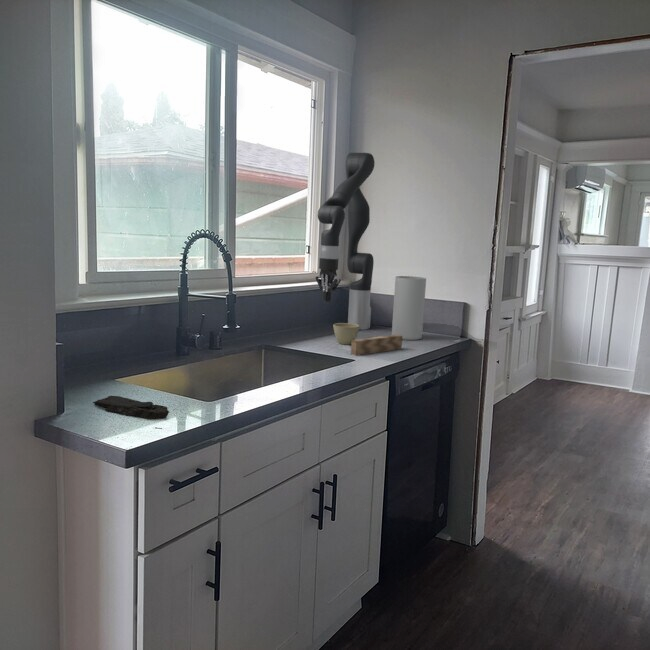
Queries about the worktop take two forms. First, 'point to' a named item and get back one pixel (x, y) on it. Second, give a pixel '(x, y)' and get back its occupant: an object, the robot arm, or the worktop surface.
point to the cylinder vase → (408, 307)
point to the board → (376, 344)
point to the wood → (132, 407)
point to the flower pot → (345, 332)
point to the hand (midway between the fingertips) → (326, 301)
